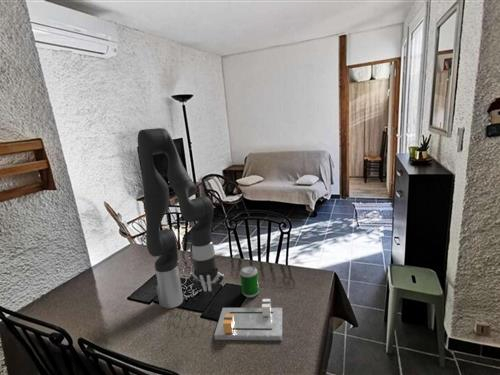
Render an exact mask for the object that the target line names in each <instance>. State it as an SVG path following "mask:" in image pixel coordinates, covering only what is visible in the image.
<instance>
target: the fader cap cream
mask: <svg viewBox="0 0 500 375" xmlns="http://www.w3.org/2000/svg"><path fill="white" fill-rule="evenodd" d="M271 302H272V301H271V298H262V301H261V308H262V316H270V315H271V308H272V304H271Z"/></svg>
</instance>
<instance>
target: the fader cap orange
mask: <svg viewBox="0 0 500 375" xmlns="http://www.w3.org/2000/svg"><path fill="white" fill-rule="evenodd" d="M234 324H235V322H234V314H225V317H224V321H223V328H224V333H232V332H233V328H234Z"/></svg>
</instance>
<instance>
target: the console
mask: <svg viewBox="0 0 500 375" xmlns="http://www.w3.org/2000/svg"><path fill="white" fill-rule="evenodd" d="M225 314H234V322H235V324H234V328H233V332H232V333H224V328H223V321H224V317H225ZM213 335H214V340H218V341H219V340H222V341H223V340H226V341H229V340H230V341H231V340H232V341H283V307H271V315H270V316H262V307H222V310H221V312H220V315H219V318H218V322H217V324H216V328H215V332H214V334H213Z"/></svg>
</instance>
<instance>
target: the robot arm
mask: <svg viewBox="0 0 500 375" xmlns="http://www.w3.org/2000/svg"><path fill="white" fill-rule="evenodd" d="M137 147H138V154H139V158H140V159H139V160H140V164H141V166H140V167H141V172H142V174H141V175H142V184H143V185H142V186H143V200H144V207H145V218H146V219H145V221H146V222H145V223H146V227H145V242H146V243H145V244H146V248H147V251H148V253H149V254H150V256H152V257H154V258H155V257H158V258H157V259H156V260H155V263H154V269H155V275H156V281H157V285H156V293H157V296H158V303H159V306H160V307H163V308H164V309H173V308H177V307H179V306H180V305H181V304H183V302H184V296H183V290H182V282H181V276H180V270H179V266H178V265H179V264H178V259H179V255H178V253H179V252H178V244H177V239H176V235H175V233H174V232H173V231H172V230H171V229H169V228H164V229H162V230H161V224H162V221H163V218H164V217H165V216H166V212H167V210H168V208H169V205H170V190H169V185H170V186H171V188H172V190H173V192H174V194H175V195H176V198H177V201H178V206H179V209H180V214H181V216H182V218H183V219H184V220H185V221H187V222H189V223H192V222H196V221H198V222H196V224H194V225H193V226H191V227H190V228H189V235H190V242H191V255H192V261H193V268H194V270H193V273H190V275H189V277H188V281H190V282H191V284H193V286H195V287H196V288H197V289H198V290H199V291H200V290H202V291H203V293H204V299H206V300H207V301H211V300H212V299H213V298H214V291H215V290H217V288H218V287H219V285H220V284H221V283H222V282H223V280H224V278H225V276H226V275H225V273H224V272H222V273H221V272H220V271H219V269H218V267H217V263H216V262H217V260H216V253H215V246H214V243H213V237H212V236H213V235H212V227H213V226H212V224H213V218H214V204H213V201H212V200H211V199H210V197H208V196H206V195H205V196H203V195H202V196H199V197H194V198H191V197H193V195H194V194H195V193H196V192H197V187H196V185H195V183H194V181H193V180H192V178H191V176H190V174H188V171H187V170H186V168H185V167H184V165H183V161H182V159H181V157H180V154H179V152H178V150H177V147H176V144H175V142H174V140H173V138H172V136H171V133H169V131H168V130H167V129H166V128H163V127H162V128H161V127H158V128H145V129H140V130H139V131H138V134H137ZM159 154H164V155H165V156H166V157H167V159H168V165H167V171H166V172H167V173H166V174H167V180H168V183H169V185H168V183H167V181H166V180H165V179H164V178H163V177H162V175H161V174H160V173H159V172H158V170H157V168H156V167H155V163H154V157H153V156H155V155H159ZM190 198H191V199H190ZM215 278H216V281H215V282H214V280H215Z"/></svg>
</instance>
